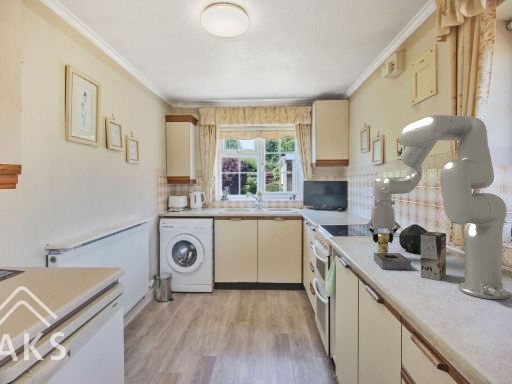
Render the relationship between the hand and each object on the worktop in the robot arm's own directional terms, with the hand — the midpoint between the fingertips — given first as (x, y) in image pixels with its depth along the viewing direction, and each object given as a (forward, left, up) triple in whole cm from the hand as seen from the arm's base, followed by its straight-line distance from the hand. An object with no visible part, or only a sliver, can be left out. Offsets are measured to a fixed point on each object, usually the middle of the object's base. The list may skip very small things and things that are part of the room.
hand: (382, 242), depth 140 cm
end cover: (0, 0, -5) cm, 5 cm away
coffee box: (-27, -11, -7) cm, 30 cm away
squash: (+13, -19, -7) cm, 24 cm away
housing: (-13, 0, -7) cm, 15 cm away
